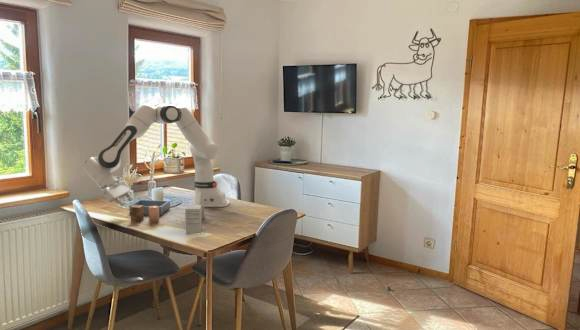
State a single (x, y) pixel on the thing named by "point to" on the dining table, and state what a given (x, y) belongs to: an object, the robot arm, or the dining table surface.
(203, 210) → the round bodied animal figurine
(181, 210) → the dining table surface
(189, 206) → the supplement box
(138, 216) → the walnut block
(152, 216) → the ball
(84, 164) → the robot arm
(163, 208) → the box
